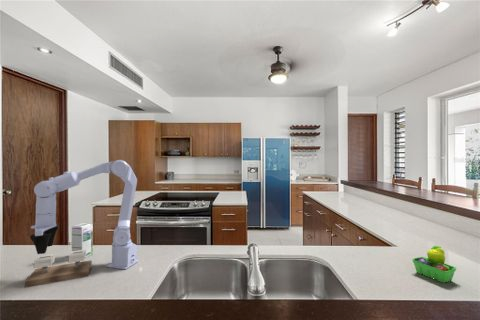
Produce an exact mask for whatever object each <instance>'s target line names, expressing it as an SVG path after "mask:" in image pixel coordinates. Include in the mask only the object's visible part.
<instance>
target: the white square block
mask: <svg viewBox="0 0 480 320" xmlns="http://www.w3.org/2000/svg"><path fill="white" fill-rule="evenodd" d="M86 258H87V257H86V250H79V251H72V250H71V252H70V253H69V255H68V264H71V263H75V262H78V261H80V262H84V261H85V259H86Z"/></svg>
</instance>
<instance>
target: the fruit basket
mask: <svg viewBox="0 0 480 320" xmlns="http://www.w3.org/2000/svg"><path fill="white" fill-rule="evenodd" d="M426 254H427V255H426V257H425V256H420V257H419V256H418V257H415V258H412V259H411V260H412V263H413V265H414V267H415V268H414V269H415V271H416V273H417V272H418V273H417V274H419V273H420V274H419V275H422V274H423V275H422V276H424V275H425V276H424V277H426V276H429V277H431V278H434V279H437V280H439V281H441V282H440V283H442V282H444V283H443V284H446V283H445V282H447V283H449V282H451V281H450V280H452V281H453V277H454V275H455V272H456V270H457V267H456V266H453V265H450V264H448V263H447V264H446V263H445V262H446V256H445V251H444V249H443V248H442V247H441V246H438V245H433V246H432V247H431V248H430V249H429V250H428V251H427V252H426ZM429 277H428V278H429ZM431 278H430V279H431ZM434 279H433V280H434ZM437 280H436V281H437ZM439 281H438V282H439ZM448 281H449V282H448Z"/></svg>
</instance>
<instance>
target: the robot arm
mask: <svg viewBox="0 0 480 320" xmlns="http://www.w3.org/2000/svg"><path fill="white" fill-rule="evenodd" d="M111 173H112V174H114V175H115V176H117V177H119V178H120V179H121V180H122V181H123V182H124V187H123V192H122V193H123V194H122V198H121V199H122V200H121V206H120V210H119V215H118V216H119V217H118V220H117V224H116V227H115V228H114V229H113V236H112V242H111V263H108V264H107V265H106V267H107V268H111V269H112V268H114V269H122V270H127V269H128V268H130V267H132V266H133V265H135V264H137V263H138V262H139V259H138V252H139V251H138V245H137V244H135V243H133V242H132V238H131V230H130V228H131V218H132V213H133V206H134V203H135V195H136V189H137V184H138V178H137V177H136V175H135V173H134V171H133V169H132V167H131V166H130V164H128V162H127V161H125V160H123V159H117V160H115V161H108V162H103V163H100V164H98V165H95V166H93V167H90V168H88V169H87V168H86V169H84V170H82V171H80V172H74V171H64V172H63V174H60V175H57V176H55V177H53V176H52V177H49V178H48V180H42V181H40V182H38V183H36V184H35V186H34V188H33V191H34V194H35V195H36V201H35V224H34V225H31V226H30V229H34V233H33V234H31V235H30V236H29V238H30V240H31V241H32V242H33V245H34V247H35V250H36V254H37V255H42V254H46V253H47V251H48V247H52V246H53V244H54V241H55V237H56V234H57V232H58V230H59V228H60V226H59V225H57V220H56V219H57V193H59V192H63V191H65V190H68V189H70V188H71V189H72V188H74V187H76V186H78V185H80V182H81V181H82V180H85V179H88V178H90V177H95V176H97V175H100V174H111Z"/></svg>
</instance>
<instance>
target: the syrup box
mask: <svg viewBox="0 0 480 320" xmlns="http://www.w3.org/2000/svg"><path fill="white" fill-rule="evenodd" d="M93 229H94V228H93V223H89V222H86V223H85V222H84V223H83V222H82V223H80V224H75V225H73V226H71V252H72V251H79V250H86V257H85V258H87V257H90V256H92V255H94V254H93V253H94V250H93V249H94V247H93V246H94V245H93V244H94V241H93V239H94V236H93V235H94V234H93V233H94V231H93Z"/></svg>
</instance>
